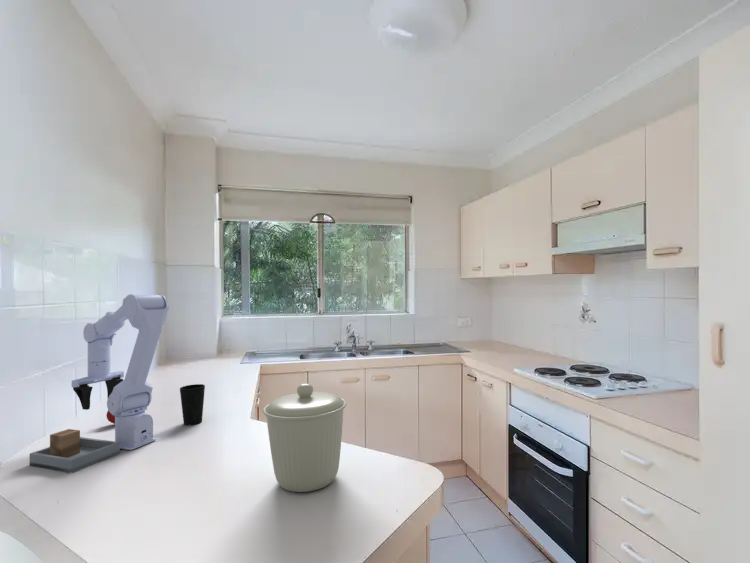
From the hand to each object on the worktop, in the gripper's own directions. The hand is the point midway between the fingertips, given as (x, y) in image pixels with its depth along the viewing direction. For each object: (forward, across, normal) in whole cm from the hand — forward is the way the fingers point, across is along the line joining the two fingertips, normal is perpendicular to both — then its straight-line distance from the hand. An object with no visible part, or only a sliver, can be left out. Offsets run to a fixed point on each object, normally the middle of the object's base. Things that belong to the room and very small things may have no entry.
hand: (99, 405), depth 117 cm
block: (+9, +14, +8) cm, 19 cm away
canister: (+10, +8, +78) cm, 79 cm away
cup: (+10, -18, +19) cm, 28 cm away
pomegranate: (+10, -10, -6) cm, 15 cm away
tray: (+9, +14, +12) cm, 21 cm away
